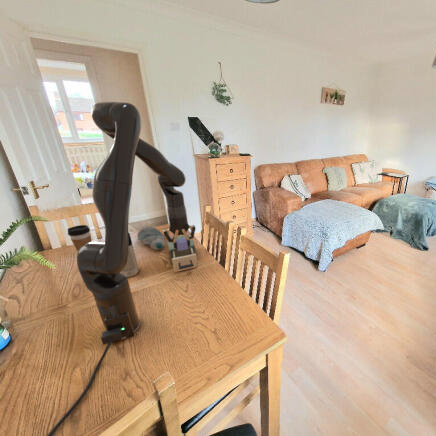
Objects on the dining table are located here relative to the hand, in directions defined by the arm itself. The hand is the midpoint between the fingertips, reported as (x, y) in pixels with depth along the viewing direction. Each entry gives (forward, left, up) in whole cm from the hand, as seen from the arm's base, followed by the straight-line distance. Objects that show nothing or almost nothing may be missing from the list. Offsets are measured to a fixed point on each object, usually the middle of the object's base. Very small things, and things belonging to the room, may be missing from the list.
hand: (182, 247), depth 113 cm
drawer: (-1, 0, -10) cm, 10 cm away
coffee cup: (+33, +44, -11) cm, 56 cm away
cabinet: (+10, 0, -10) cm, 15 cm away
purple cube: (0, 0, 0) cm, 0 cm away
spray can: (+4, +23, -11) cm, 26 cm away
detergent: (+30, +13, -11) cm, 35 cm away
